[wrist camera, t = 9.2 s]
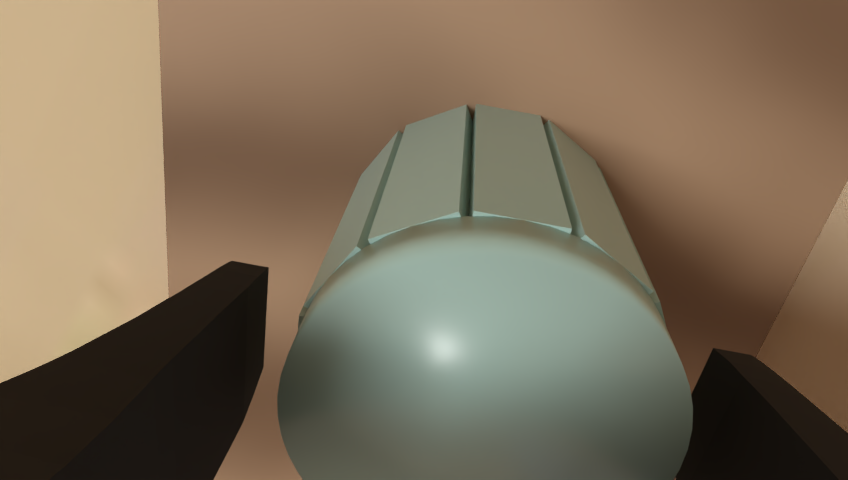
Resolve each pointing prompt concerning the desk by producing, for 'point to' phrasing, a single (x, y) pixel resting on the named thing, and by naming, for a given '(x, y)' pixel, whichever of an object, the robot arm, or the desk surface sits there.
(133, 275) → the desk surface
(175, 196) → the walnut board
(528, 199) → the cap
